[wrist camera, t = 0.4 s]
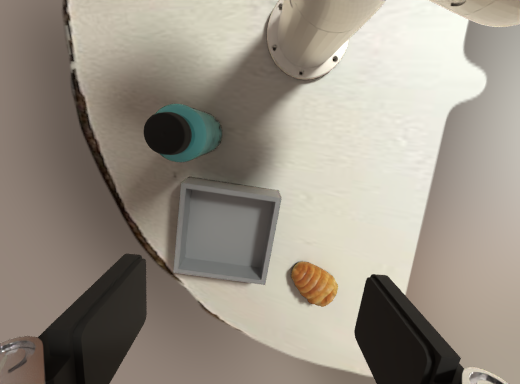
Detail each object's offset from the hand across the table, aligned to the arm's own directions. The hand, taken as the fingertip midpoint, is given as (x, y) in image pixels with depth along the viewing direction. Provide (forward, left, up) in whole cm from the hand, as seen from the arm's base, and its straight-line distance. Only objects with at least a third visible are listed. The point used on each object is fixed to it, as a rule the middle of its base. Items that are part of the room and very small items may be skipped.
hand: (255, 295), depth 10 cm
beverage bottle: (-5, -9, -35) cm, 36 cm away
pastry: (+20, +15, -35) cm, 43 cm away
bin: (+11, -3, -34) cm, 36 cm away
